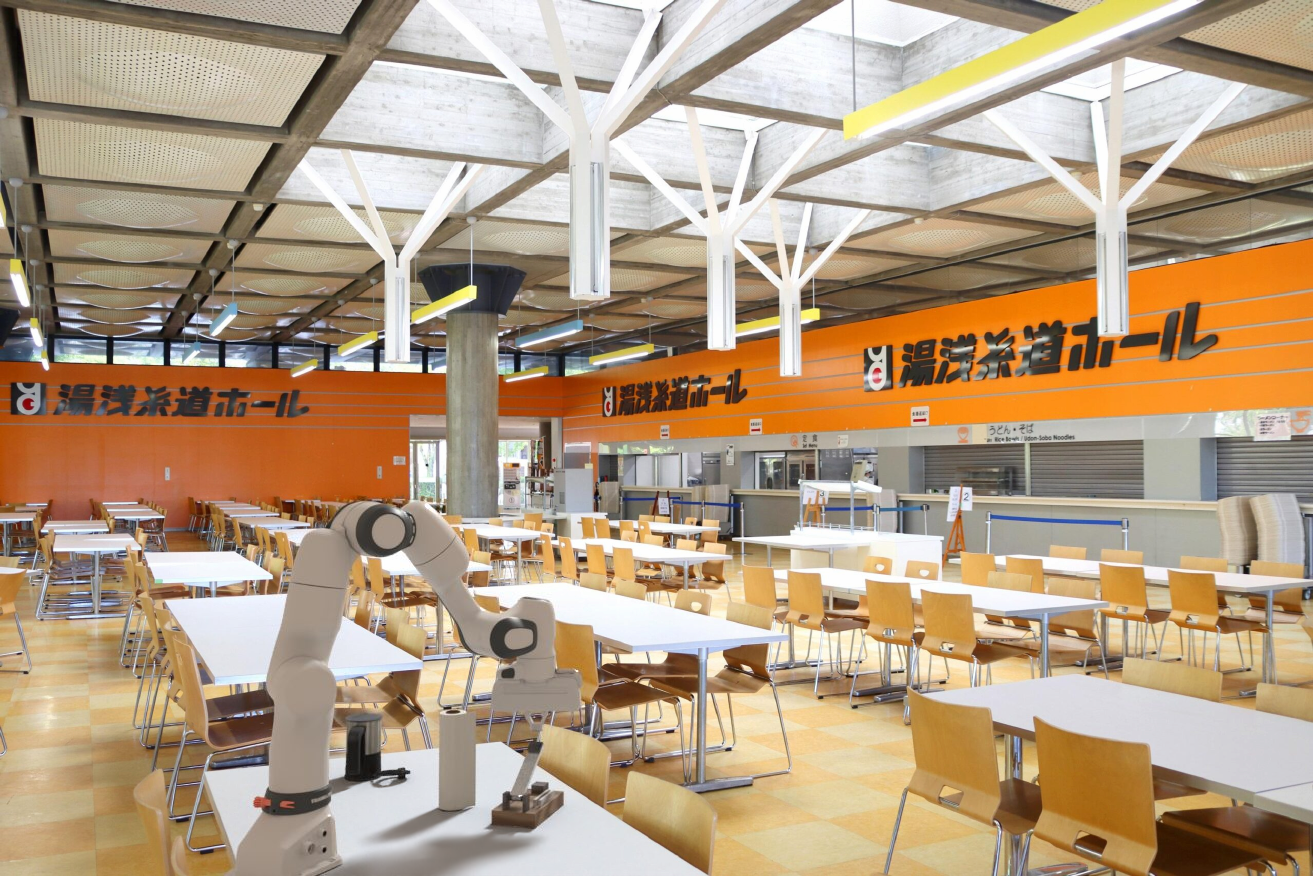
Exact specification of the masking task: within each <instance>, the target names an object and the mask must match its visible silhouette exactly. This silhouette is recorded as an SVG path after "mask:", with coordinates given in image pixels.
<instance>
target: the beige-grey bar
mask: <svg viewBox="0 0 1313 876" xmlns="http://www.w3.org/2000/svg"><path fill="white" fill-rule="evenodd" d="M545 746H546V745H545V742H544V741H533V740H531V741H529V744H528V746H527V748H526V751H527V752H526V754H525V757H524V759H523V762H522V765H521V767H520V770H519V771H518V774H517V776H516V778H515V782H514V783H513V786H512V788H511V791H510V792H511V793H510V795H509V798H508V799H509V801H521V802H523V795H524V794H525V793H526V791H527V789H529V786H530V784H531V782H532V781H531V780H532V778H533V775H534V773H535V771H536V768H537V765H538V763H539V760H540V758H541V755H542V753H543V751H544V748H545Z"/></svg>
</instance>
